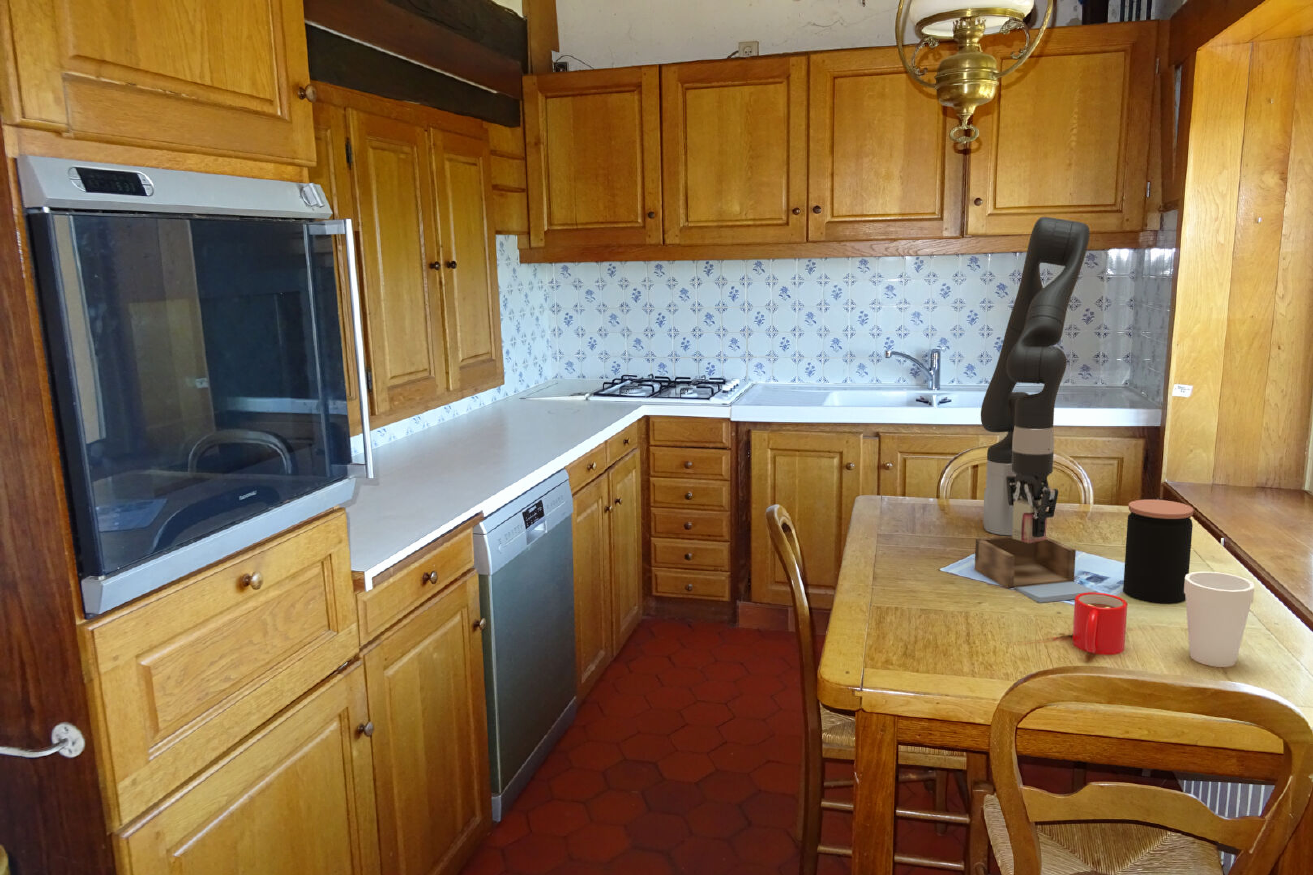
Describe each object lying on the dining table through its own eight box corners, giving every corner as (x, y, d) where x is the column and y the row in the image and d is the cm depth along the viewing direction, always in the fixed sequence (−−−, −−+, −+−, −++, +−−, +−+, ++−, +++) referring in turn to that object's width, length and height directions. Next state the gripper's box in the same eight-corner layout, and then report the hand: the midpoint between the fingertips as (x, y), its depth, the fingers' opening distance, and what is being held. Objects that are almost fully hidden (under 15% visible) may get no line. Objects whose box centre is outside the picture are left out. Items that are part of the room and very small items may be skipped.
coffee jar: (1180, 591, 175) (1187, 500, 172) (1192, 611, 165) (1200, 515, 162) (1118, 587, 179) (1124, 497, 176) (1126, 606, 169) (1133, 512, 166)
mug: (1063, 657, 148) (1066, 611, 147) (1076, 632, 158) (1079, 589, 157) (1117, 668, 144) (1120, 620, 143) (1127, 641, 154) (1130, 596, 152)
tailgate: (1013, 586, 177) (1038, 597, 169) (1070, 580, 179) (1098, 590, 171) (1013, 591, 177) (1038, 602, 169) (1070, 585, 179) (1098, 596, 171)
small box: (1029, 544, 179) (1030, 505, 177) (1011, 538, 182) (1012, 500, 181) (1046, 539, 181) (1048, 501, 180) (1029, 534, 185) (1030, 496, 183)
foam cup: (1183, 666, 144) (1190, 588, 141) (1174, 643, 152) (1179, 569, 150) (1254, 674, 140) (1261, 593, 138) (1240, 650, 149) (1247, 574, 146)
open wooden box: (974, 573, 189) (975, 539, 187) (1037, 567, 192) (1038, 533, 190) (1007, 593, 177) (1009, 556, 176) (1073, 586, 180) (1075, 549, 179)
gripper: (1073, 454, 172) (1069, 541, 175) (1028, 441, 186) (1024, 521, 189) (1037, 457, 171) (1034, 544, 174) (994, 443, 185) (992, 525, 188)
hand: (1029, 532), depth 181 cm, fingers closed on small box, 5 cm apart
